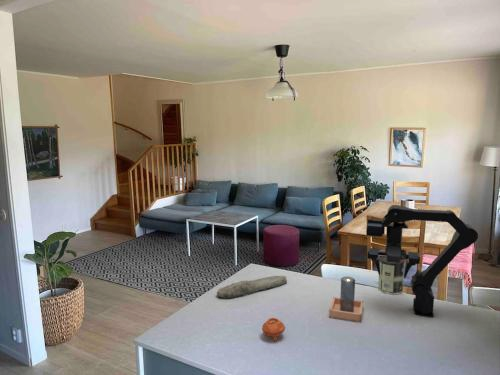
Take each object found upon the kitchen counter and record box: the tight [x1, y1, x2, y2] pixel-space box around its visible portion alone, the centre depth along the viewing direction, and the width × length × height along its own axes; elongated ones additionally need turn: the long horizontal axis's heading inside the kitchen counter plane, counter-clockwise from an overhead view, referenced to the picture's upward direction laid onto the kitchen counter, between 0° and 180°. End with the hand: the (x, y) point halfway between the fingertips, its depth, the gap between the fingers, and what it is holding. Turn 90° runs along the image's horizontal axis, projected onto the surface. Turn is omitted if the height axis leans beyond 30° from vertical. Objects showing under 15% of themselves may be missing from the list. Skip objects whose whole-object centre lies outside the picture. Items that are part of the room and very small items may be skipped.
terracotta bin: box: [328, 296, 364, 323], centre depth 145 cm, size 12×12×3 cm
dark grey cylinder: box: [339, 276, 356, 313], centre depth 144 cm, size 5×5×13 cm
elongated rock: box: [216, 275, 288, 299], centre depth 167 cm, size 35×5×10 cm
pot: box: [261, 317, 286, 342], centre depth 129 cm, size 8×8×7 cm
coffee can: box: [377, 256, 405, 295], centre depth 164 cm, size 10×10×14 cm
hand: (391, 276), depth 147 cm, fingers open, 9 cm apart
